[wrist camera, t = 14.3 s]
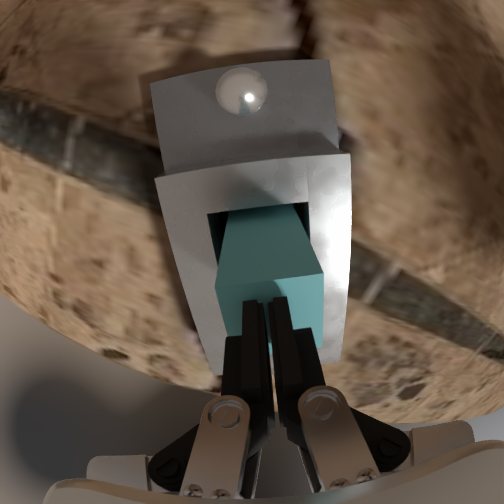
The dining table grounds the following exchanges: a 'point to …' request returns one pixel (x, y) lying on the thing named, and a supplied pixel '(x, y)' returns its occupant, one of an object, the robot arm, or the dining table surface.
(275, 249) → the pin
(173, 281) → the dining table surface
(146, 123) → the dining table surface
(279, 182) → the grey slotted base
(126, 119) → the dining table surface
